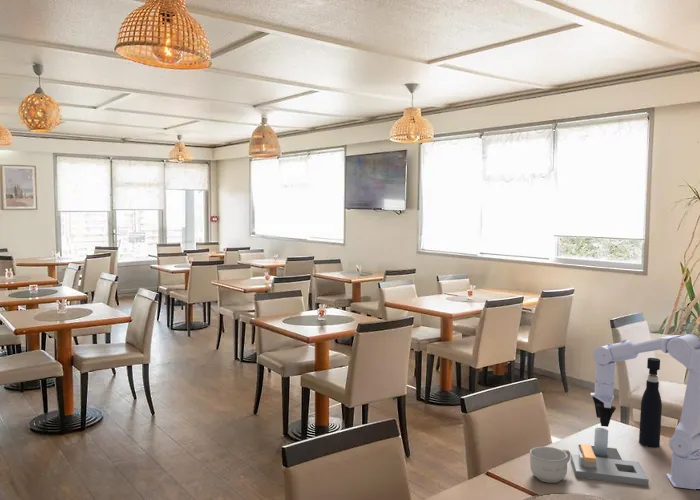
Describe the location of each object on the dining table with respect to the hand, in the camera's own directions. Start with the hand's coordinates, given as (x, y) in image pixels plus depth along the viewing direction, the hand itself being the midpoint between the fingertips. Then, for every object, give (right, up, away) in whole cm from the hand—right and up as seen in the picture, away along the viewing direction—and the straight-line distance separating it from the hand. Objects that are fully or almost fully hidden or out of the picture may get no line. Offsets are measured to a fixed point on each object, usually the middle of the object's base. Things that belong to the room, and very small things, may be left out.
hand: (602, 421), depth 191 cm
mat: (-1, -11, -1) cm, 11 cm away
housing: (-4, -12, -14) cm, 19 cm away
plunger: (-10, -9, -13) cm, 19 cm away
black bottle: (+20, -10, +8) cm, 24 cm away
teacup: (-23, -12, -17) cm, 31 cm away
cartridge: (-1, -10, -1) cm, 10 cm away
